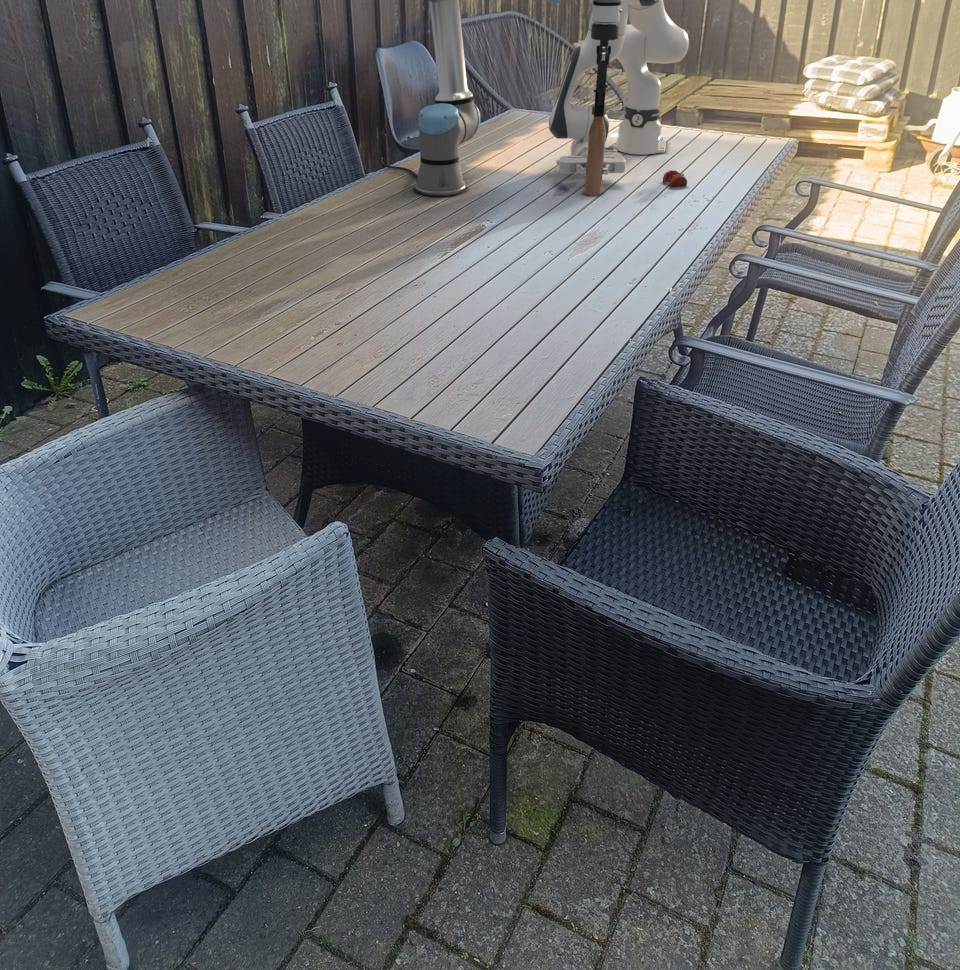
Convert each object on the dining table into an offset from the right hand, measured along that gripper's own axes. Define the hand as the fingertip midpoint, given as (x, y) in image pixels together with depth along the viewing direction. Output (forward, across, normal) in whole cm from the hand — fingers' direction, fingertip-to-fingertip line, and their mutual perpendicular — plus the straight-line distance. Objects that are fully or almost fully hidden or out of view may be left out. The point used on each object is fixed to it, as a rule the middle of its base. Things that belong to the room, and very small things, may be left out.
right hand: (594, 171), depth 251 cm
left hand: (-1, 0, -16) cm, 16 cm away
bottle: (-1, 0, +6) cm, 7 cm away
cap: (-1, 0, -18) cm, 18 cm away
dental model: (-8, +27, +6) cm, 29 cm away
